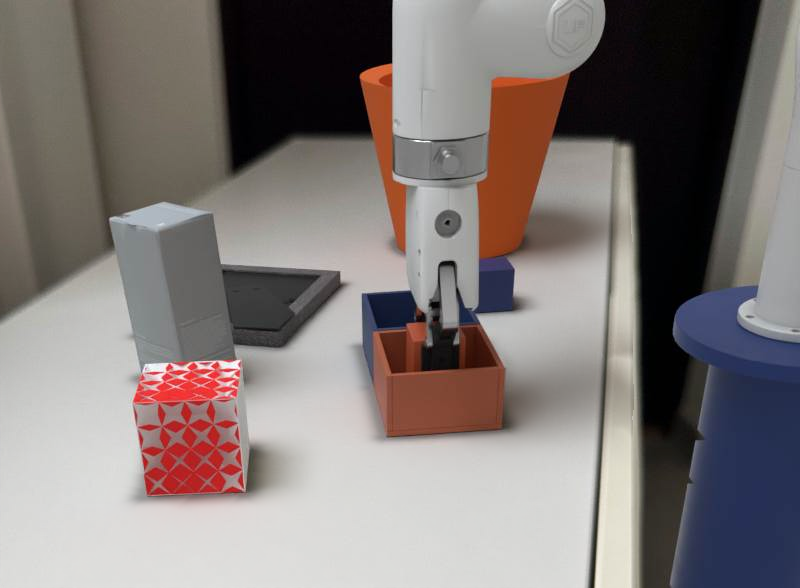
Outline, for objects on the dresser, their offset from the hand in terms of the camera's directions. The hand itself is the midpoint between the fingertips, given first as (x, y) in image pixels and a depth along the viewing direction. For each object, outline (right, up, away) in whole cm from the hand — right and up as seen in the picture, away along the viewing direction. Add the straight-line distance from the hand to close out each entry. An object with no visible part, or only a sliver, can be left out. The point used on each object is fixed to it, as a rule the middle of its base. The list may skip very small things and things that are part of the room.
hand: (434, 375), depth 94 cm
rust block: (0, 0, 0) cm, 0 cm away
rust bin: (0, -2, +2) cm, 3 cm away
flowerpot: (+8, +28, +44) cm, 53 cm away
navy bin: (-1, +4, +11) cm, 11 cm away
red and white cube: (-20, -10, -6) cm, 23 cm away
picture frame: (-19, +14, +26) cm, 35 cm away
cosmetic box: (-23, +2, +10) cm, 25 cm away
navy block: (+8, +14, +24) cm, 29 cm away
